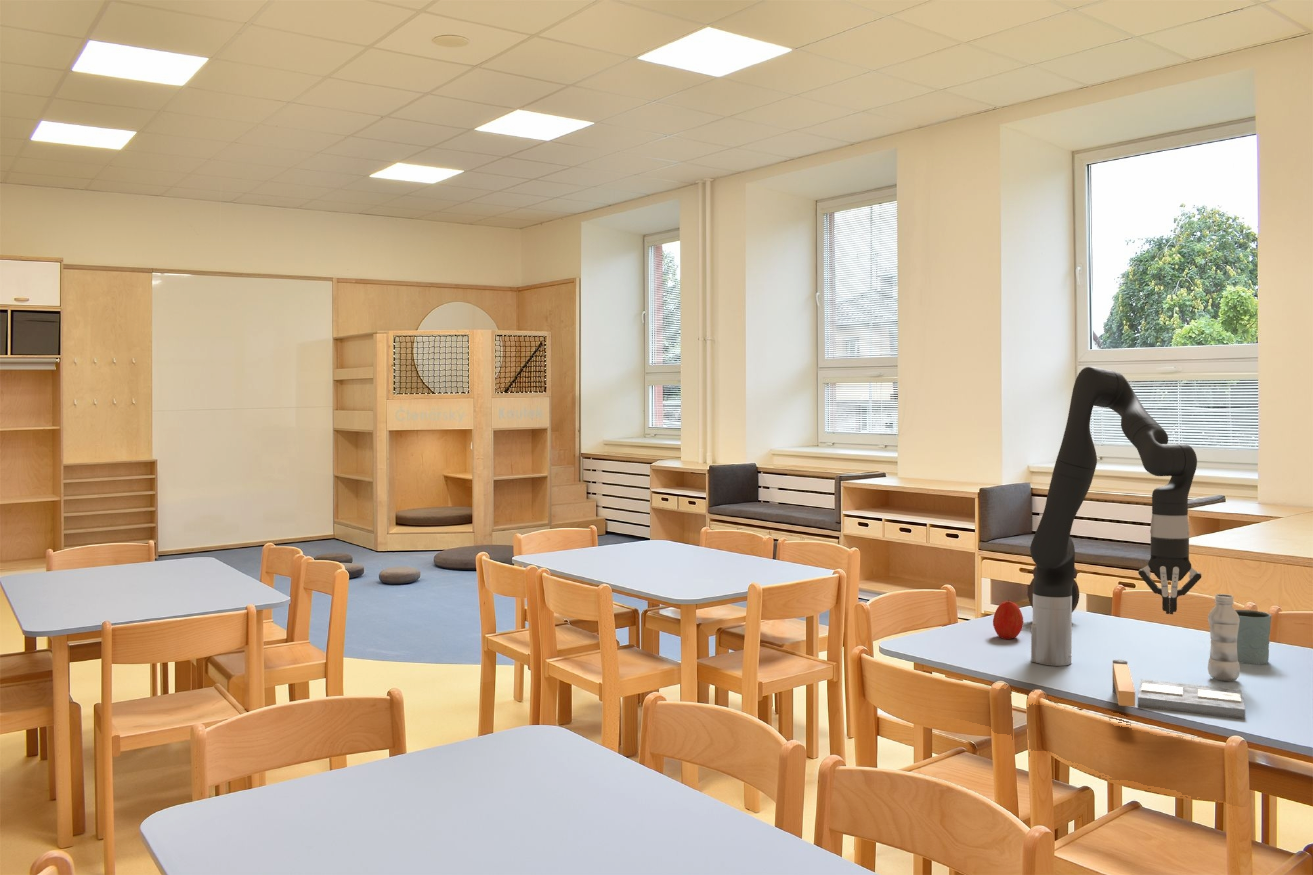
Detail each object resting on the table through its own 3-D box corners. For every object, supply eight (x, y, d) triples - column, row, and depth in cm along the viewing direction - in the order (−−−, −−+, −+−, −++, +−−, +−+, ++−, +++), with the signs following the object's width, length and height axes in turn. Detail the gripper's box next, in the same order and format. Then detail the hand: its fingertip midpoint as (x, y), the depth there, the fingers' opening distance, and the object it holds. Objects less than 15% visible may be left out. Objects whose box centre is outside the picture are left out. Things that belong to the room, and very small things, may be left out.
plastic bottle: (1244, 684, 235) (1245, 598, 235) (1212, 682, 237) (1213, 597, 236) (1234, 676, 242) (1235, 593, 241) (1203, 675, 243) (1204, 592, 242)
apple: (1028, 641, 280) (1028, 602, 279) (998, 641, 280) (998, 602, 279) (1018, 634, 288) (1018, 596, 287) (988, 634, 288) (989, 596, 288)
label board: (1137, 706, 219) (1138, 695, 219) (1140, 687, 233) (1141, 677, 233) (1244, 719, 210) (1245, 707, 209) (1241, 698, 224) (1241, 688, 224)
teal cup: (1259, 667, 251) (1260, 618, 250) (1217, 658, 259) (1217, 612, 258) (1278, 660, 257) (1278, 613, 256) (1236, 653, 265) (1236, 607, 264)
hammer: (1112, 690, 230) (1112, 659, 229) (1126, 692, 229) (1127, 660, 228) (1118, 725, 205) (1118, 690, 204) (1134, 727, 204) (1135, 691, 203)
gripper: (1203, 534, 222) (1203, 613, 223) (1137, 531, 228) (1137, 608, 229) (1204, 538, 216) (1203, 619, 216) (1135, 535, 222) (1135, 614, 222)
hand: (1169, 613), depth 223 cm, fingers closed
